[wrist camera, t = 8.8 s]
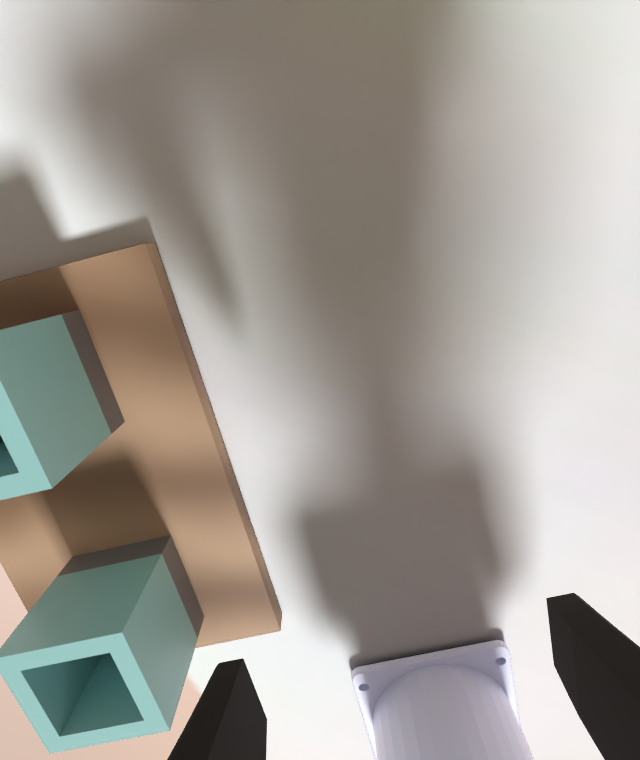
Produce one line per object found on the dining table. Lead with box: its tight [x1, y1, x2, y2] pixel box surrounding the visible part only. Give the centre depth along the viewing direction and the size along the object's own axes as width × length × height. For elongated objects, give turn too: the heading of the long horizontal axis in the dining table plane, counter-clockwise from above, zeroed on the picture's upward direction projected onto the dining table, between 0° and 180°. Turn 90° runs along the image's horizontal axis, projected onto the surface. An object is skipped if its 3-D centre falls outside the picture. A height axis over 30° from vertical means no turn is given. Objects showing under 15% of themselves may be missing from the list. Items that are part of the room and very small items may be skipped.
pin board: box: [0, 243, 282, 648], centre depth 18 cm, size 18×11×4 cm, turn 14°
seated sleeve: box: [0, 535, 204, 753], centre depth 17 cm, size 5×5×5 cm
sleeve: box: [0, 310, 125, 500], centre depth 14 cm, size 5×5×5 cm
